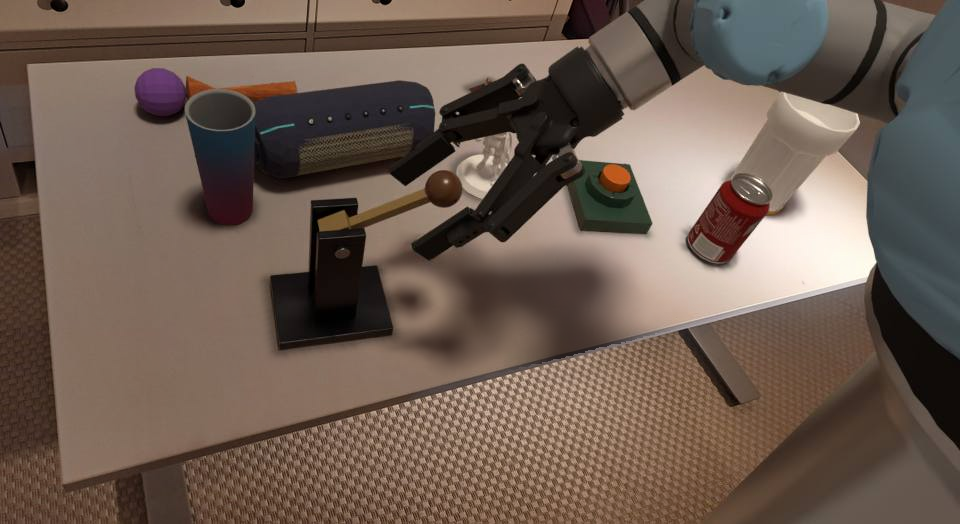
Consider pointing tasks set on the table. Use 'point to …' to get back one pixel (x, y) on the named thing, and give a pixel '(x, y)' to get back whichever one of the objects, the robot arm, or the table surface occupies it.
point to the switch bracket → (331, 287)
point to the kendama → (191, 91)
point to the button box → (608, 203)
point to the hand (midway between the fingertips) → (407, 213)
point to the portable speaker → (340, 127)
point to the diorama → (480, 85)
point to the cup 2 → (795, 144)
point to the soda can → (730, 218)
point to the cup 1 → (224, 151)
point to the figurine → (485, 165)
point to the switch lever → (401, 203)
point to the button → (614, 178)
